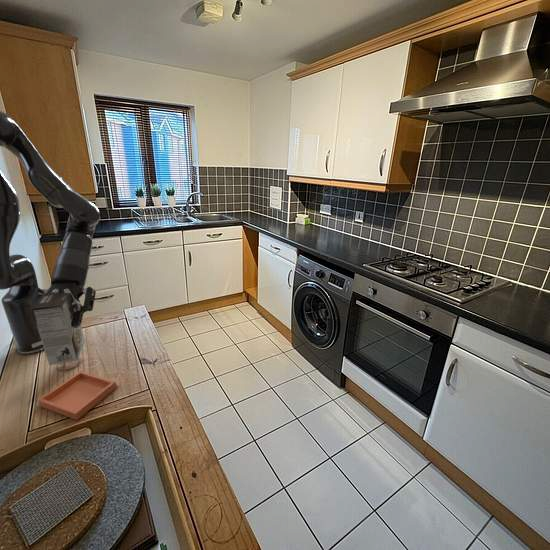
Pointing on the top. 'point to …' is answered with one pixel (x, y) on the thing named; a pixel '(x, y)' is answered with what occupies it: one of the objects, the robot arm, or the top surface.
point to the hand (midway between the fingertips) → (57, 327)
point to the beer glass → (68, 365)
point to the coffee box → (58, 327)
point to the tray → (77, 395)
